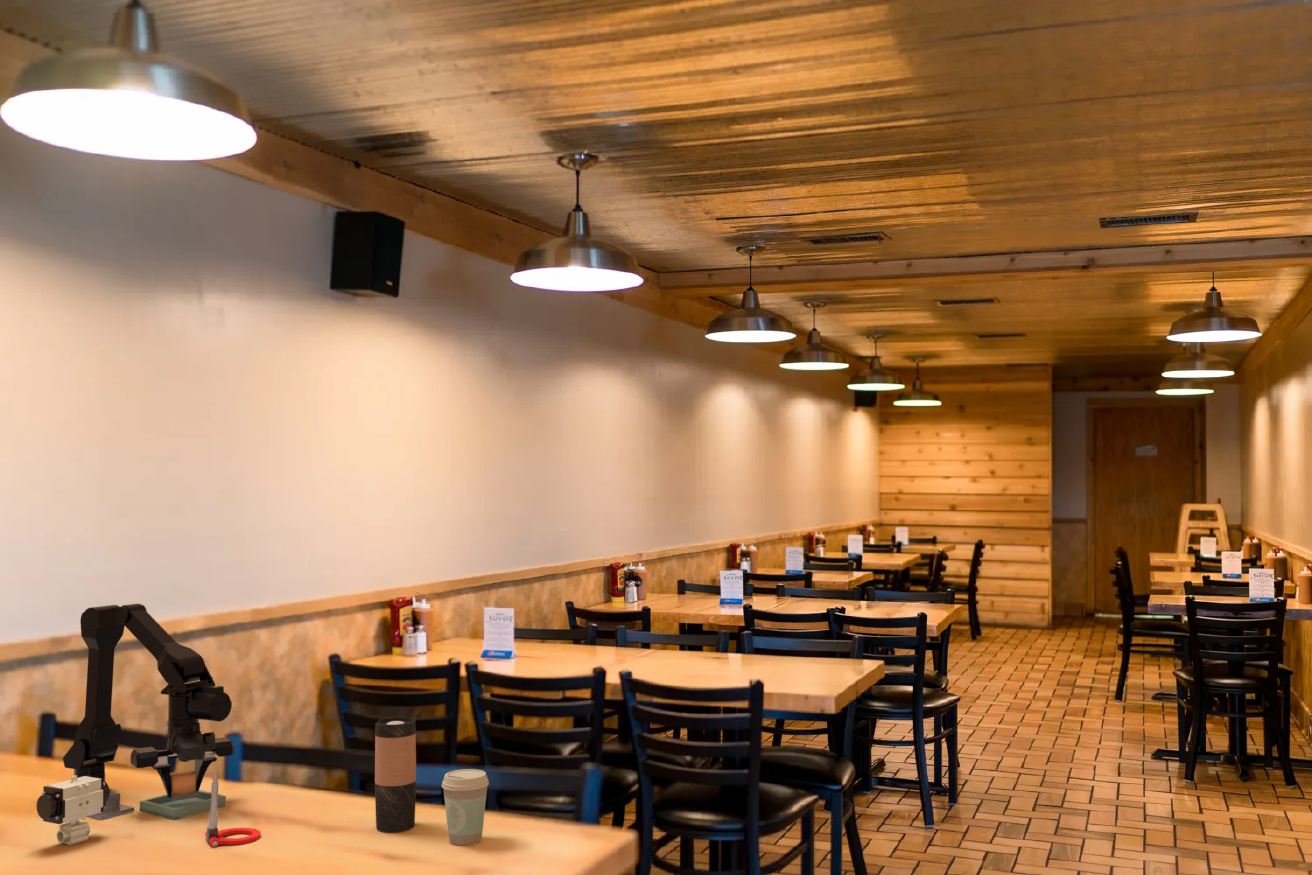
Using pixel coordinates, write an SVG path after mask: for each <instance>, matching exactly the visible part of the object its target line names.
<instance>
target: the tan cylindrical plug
mask: <svg viewBox="0 0 1312 875" xmlns="http://www.w3.org/2000/svg"><path fill="white" fill-rule="evenodd" d="M170 778H171V789H172V793H171V799H172V800H173V801H177V800H183V799H189V798H195V797H199V792H198V791H197V790H196V772H195V770H181V771H176V772H173V773H170ZM167 796H168V795H167Z"/></svg>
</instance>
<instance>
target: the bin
mask: <svg viewBox="0 0 1312 875" xmlns="http://www.w3.org/2000/svg"><path fill="white" fill-rule="evenodd" d="M198 792H199V797H195V798H189V799H183V800H177V801H173V800H172V799H171V798H169V797H168V796H167V793H165V794H162V795H158V796H155V797H151V798H146V799H142V800H139V812H141V813H144V814H145V813H146V814H148V815H153V816H156V817H160V818H164V819H167V820H173V821H176V820H179V819H183V818H186V817H191V816H194V815H198V814H202V813H205V812H210V807H211V792H210V791H206V790H201V789H199V791H198ZM226 803H227V796H226V795H223V794H219V793H218V804H217V809H219V808H223V807H226V805H227V804H226Z"/></svg>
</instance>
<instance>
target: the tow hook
mask: <svg viewBox="0 0 1312 875" xmlns="http://www.w3.org/2000/svg"><path fill="white" fill-rule="evenodd" d="M212 775H213V777H212V783H211V807H210V810H209V813H208V821H207V822H208V825H207V826H208V827H207V828H206V832H205V834H204V836H205V838H206V841H207V842H208V844H210V846H211V847H212V848H217V847H219V846H221V845H225V846H226V845H228V846H231V845H232V846H233V845H234V846H235V845H244V844H251V843H253V842H256V841H258V840H259V839H260V838H261V833H262V832H261V831H260V830H259V829H257V828H252V827H231V828H225V829H220V830H219V828H218V824H219V823H218V822H219V813H218V808H217V804H218V794H219V782H218V779H219V778H218V777H219V771H218V770H214V771H213V774H212ZM241 834H243V835H248V836H243V837H238V838H236V837H234V838H232V837H231V838H230V837H226V836H230V835H241Z"/></svg>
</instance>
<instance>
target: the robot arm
mask: <svg viewBox="0 0 1312 875" xmlns="http://www.w3.org/2000/svg"><path fill="white" fill-rule="evenodd" d="M79 622H80V636H81V638H82V640H83V642H84V643H85V644H86V646H87V649H88V656H87V672H86V674H87V675H86V688H85V689H86V690H85V692H86V693H85V708H84V709H85V710H84V717H83V718H82V720H81V722H80V723H79V725H78V727H77V728H76V730H75V734H74V740H73V744H72V746H71V747H70V748H69V749H68V751H67V752H65V754H64V756H63V757H62V761H63V766H64V768H65V769H71V770H73V776H75V775H76V776H77V778H79V777H83V776H87V775H89V776H95V777H101V778H104V781H105V782H106V764H105V763H109V762H114V761H115V758H116V753H117V750H118V749H119V745H120V744H121V743H122V740H121V730H122V725H121V724H120V723H116V721H115V720H114V718H113V716H112V704H113V703H112V702H113V701H112V699H113V683H114V668H115V667H114V666H115V650H116V646H117V645H118V643H119V642H120V640H122V637H124V636H123V635H124V632H125V628H126V630H128V631H129V632H130V634H132V635H133V636H134V637H135V638H136V640H138V642H140V644H141V645H143V647H144V648H145V649H146V650H147V651H148V652H149V653H150V654H151V656H153V658H154V659H155V660H156V663H157V665H156V666H157V671H158V673H159V674H160V675H161V677H162V678H163V680H164V681H165V682H166V686H165V687H163V688H162V689H161V690H160V695H166V696H167V695H168V697H167V698H168V699H167V700H168V701H167V702H168V706H167V707H168V708H167V710H168V712H167V714H168V715H167V718H168V720H167V722H166V724H167V729H168V730H167V741H166V743H167V744H166V746H167V747H166V748H167V749H161V750H157V749H156V748H154V747H153V746H148V747H140V748H134V749H132V751H131V752H130V764H131V765H132V766H133V767H135V768H136V769H143V768H149V767H151V768H152V769H153V770H155V771H157V774H158V775H159V778H160V779H161V781H162V784H163V787H164V790H165V794H167V795H168V797H169V798H171V793H172V789H171V778H170V775H171V767H172V765H170V764H169V763H168V760H170V759H171V760H172V759H175V758H176V759H177V758H178V761H180V762H182V763H186V762H187V763H189V761H194V771H195V772H196V790H197V791H199V790H200V789H201V785H202V783H203V779H204V777H205V775H206V772H207V770H208V768H209V767H210V765H211V764H212V763H215V762H217V761H218V758H220V757H228V756H233V755H235V744H234V742H233V741H232V740H231V739H228V738H227V737H225V736H224V737H223V736H222V737H216V734H215V732H214V731H211V732H210V731H209V732H205V733H202V732H201V724H200V722H199V720H201V721H203V720H204V721H211V722H222V721H224V720H226V719H227V718H228V716H230V713H231V711H232V705H233V702H232V700H231V697H230V695H229V694H228V693H226V692H225V690H224V689H225V688H224V685H216V683H215V680H214V679H213V676H212V675H211V674H210V670H208V667H207V666H206V661H205V659H204V658H203V657H202V655H201V654H199V653H198V652H197V651H196V650H194V649H192V648H191V647H189V646H186V645H183V644H180V643H178V642H177V641H176V640H174V638H173V637H172V636H171V635H170V634H169V633H168V632H167V631H166V630H165V629H164V628H163V627H162V626H161V625H160V624H159V622H157V621H156V619H155V618H154V617H153V616H152V615H151V614H149V612H148V611H147V608H146V606H145V605H144V604H141V603H130V604H122V605H121V606H119V605H118V604H112V605H111V604H110V605H109V604H108V605H103V606H95V607H94V606H93V607H88V608H86V609H85V610H84V612H82V613H81V616H80V621H79ZM216 756H217V757H218V758H217V757H216ZM109 789H110V788H109ZM110 791H113V790H112V789H110Z"/></svg>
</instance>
